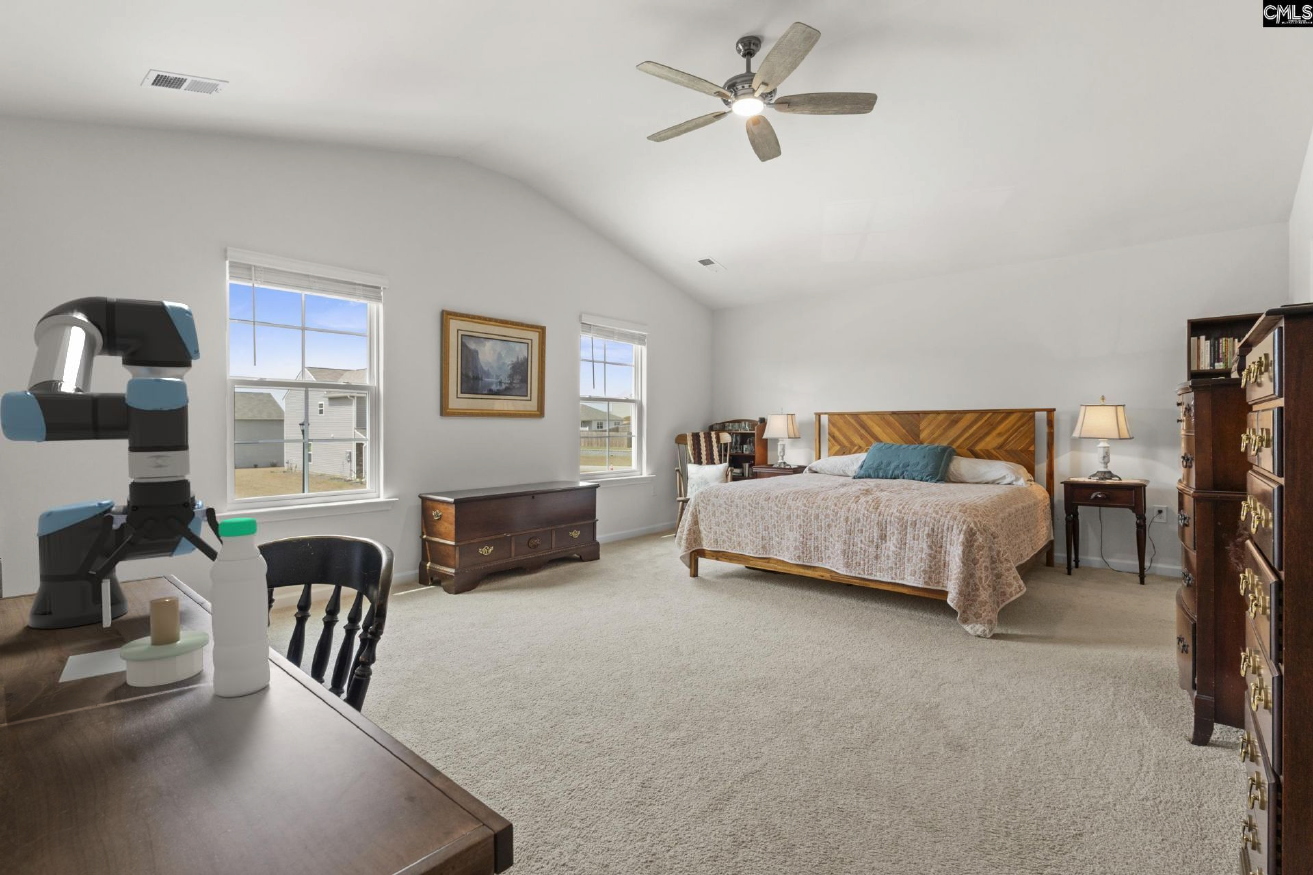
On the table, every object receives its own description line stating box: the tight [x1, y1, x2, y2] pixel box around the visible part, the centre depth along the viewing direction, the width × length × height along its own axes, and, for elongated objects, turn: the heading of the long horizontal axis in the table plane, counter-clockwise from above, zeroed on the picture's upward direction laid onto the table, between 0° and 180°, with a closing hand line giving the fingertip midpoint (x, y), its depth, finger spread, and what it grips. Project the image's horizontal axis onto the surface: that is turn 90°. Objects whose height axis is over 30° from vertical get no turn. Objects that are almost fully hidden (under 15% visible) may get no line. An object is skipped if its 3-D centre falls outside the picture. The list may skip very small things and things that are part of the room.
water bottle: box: [209, 517, 271, 698], centre depth 97 cm, size 7×7×25 cm
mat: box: [58, 647, 126, 684], centre depth 109 cm, size 14×14×1 cm
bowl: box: [125, 647, 204, 688], centre depth 102 cm, size 9×9×4 cm
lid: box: [119, 596, 210, 661], centre depth 102 cm, size 11×11×8 cm
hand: (164, 616), depth 102 cm, fingers open, 13 cm apart
